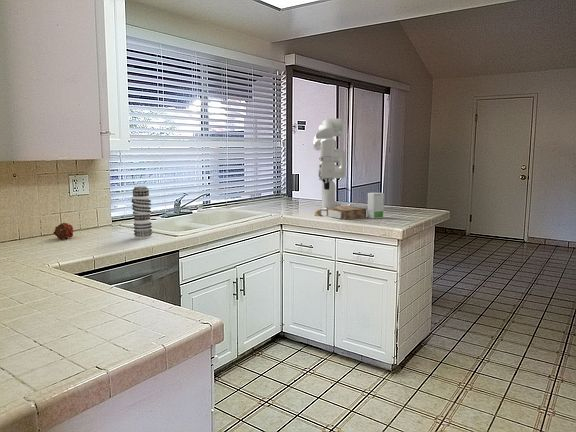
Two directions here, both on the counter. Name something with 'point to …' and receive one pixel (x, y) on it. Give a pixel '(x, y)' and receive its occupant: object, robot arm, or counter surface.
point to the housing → (349, 212)
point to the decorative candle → (141, 212)
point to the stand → (317, 212)
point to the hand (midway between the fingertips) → (326, 189)
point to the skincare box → (375, 205)
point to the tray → (335, 214)
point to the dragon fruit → (63, 231)
